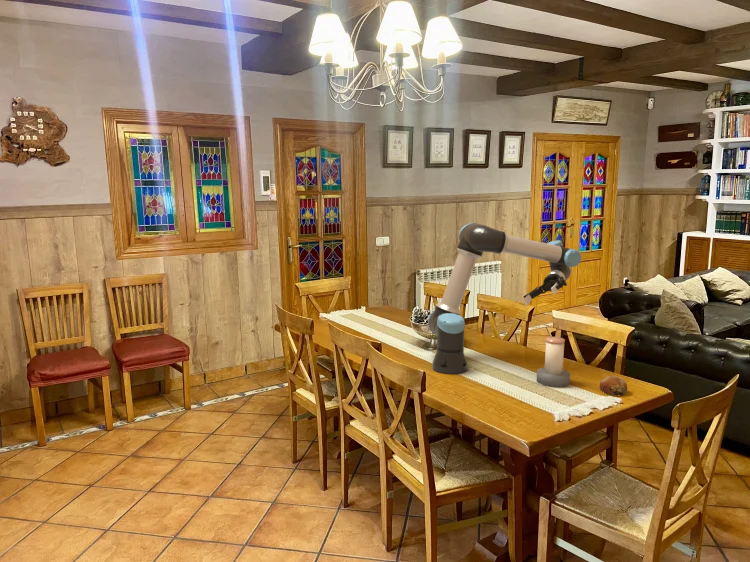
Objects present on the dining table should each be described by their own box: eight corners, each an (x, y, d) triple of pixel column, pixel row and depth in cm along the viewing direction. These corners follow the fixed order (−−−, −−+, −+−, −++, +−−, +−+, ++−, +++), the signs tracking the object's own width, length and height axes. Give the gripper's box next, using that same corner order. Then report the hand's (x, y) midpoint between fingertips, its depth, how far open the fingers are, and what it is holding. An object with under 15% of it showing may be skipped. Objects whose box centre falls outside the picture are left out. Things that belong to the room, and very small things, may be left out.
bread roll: (626, 399, 217) (627, 379, 218) (626, 397, 208) (628, 376, 209) (599, 395, 221) (600, 376, 223) (598, 393, 212) (600, 372, 213)
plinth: (547, 388, 218) (547, 378, 217) (530, 377, 230) (531, 368, 230) (576, 385, 221) (577, 376, 220) (558, 375, 234) (558, 366, 233)
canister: (550, 375, 221) (552, 342, 219) (540, 370, 228) (542, 337, 226) (566, 374, 223) (568, 340, 220) (556, 368, 230) (558, 336, 227)
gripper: (583, 277, 240) (569, 294, 224) (534, 297, 256) (518, 314, 240) (575, 262, 240) (560, 278, 224) (526, 283, 256) (509, 299, 239)
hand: (538, 297), depth 231 cm, fingers open, 13 cm apart
